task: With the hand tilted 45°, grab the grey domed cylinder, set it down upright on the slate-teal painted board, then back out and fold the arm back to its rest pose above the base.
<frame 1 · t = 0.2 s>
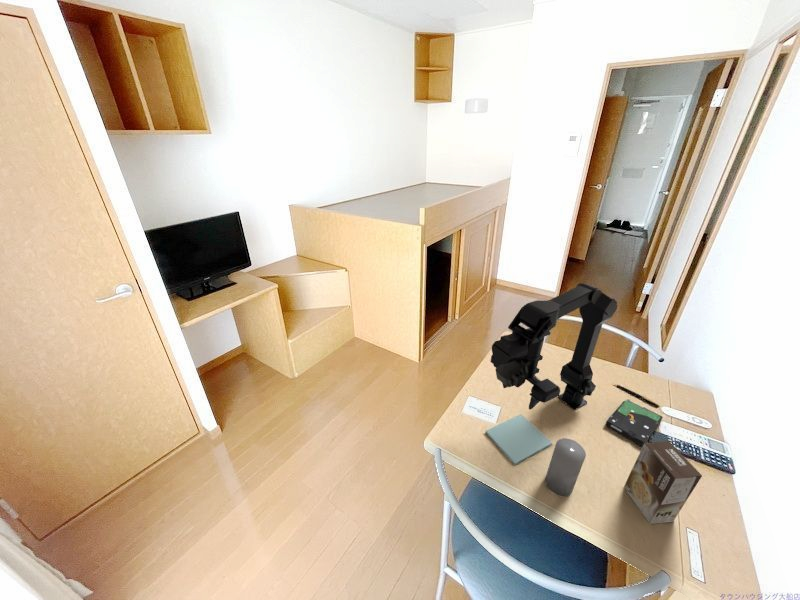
hand: (517, 397, 90), 14 cm above the table, tool pointing down, fingers open, 9 cm apart
fountain pen: (634, 396, 110), on the table
coffee box: (647, 503, 79), on the table
disk drive: (632, 425, 100), on the table
slate board: (517, 438, 95), on the table
grey domed cylinder: (558, 484, 83), on the table
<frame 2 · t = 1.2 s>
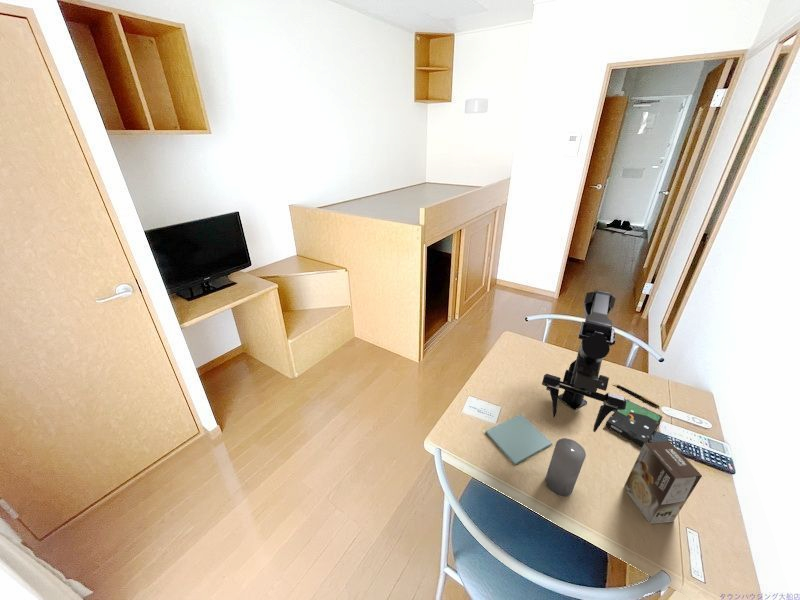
hand: (573, 424, 83), 13 cm above the table, tool tilted 45°, fingers open, 9 cm apart
nothing on the table moved.
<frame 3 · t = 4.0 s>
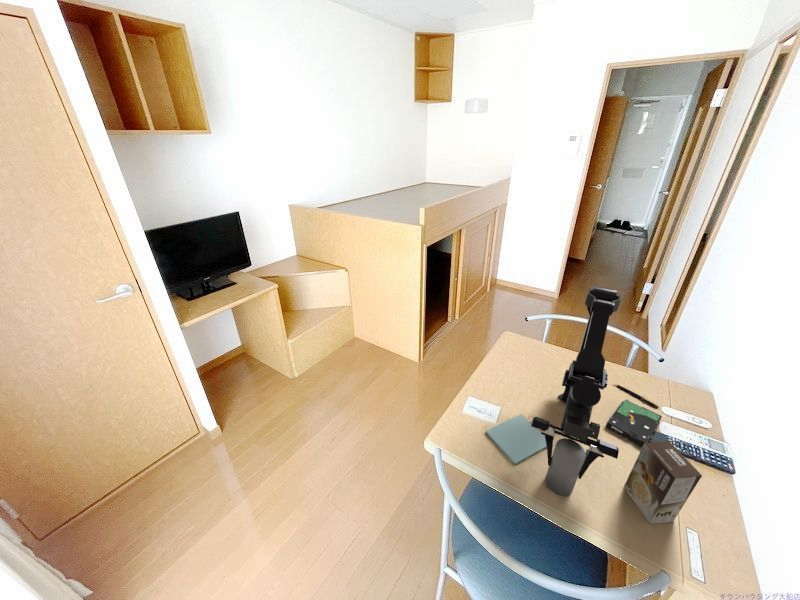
hand: (563, 471, 79), 7 cm above the table, tool tilted 45°, fingers closed on grey domed cylinder, 6 cm apart
grey domed cylinder: (558, 484, 83), on the table, touching gripper
everything else where it was.
when the fingers open (9 cm above the table, at t = 8.1 s): grey domed cylinder drops 1 cm, resting on slate board.
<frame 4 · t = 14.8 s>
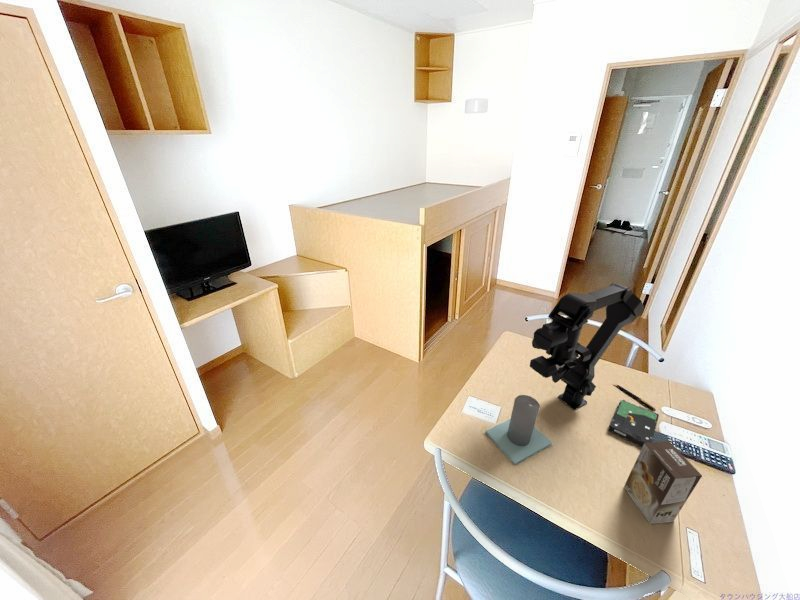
hand: (554, 381, 97), 13 cm above the table, tool pointing down, fingers closed
grey domed cylinder: (518, 436, 95), point 1 cm above the table, touching slate board
at the end: grey domed cylinder inside the target area on the slate board (0.1 cm from its centre), point 0.9 cm above the slate board's base; grey domed cylinder tilted 1°; the gripper is holding nothing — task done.
